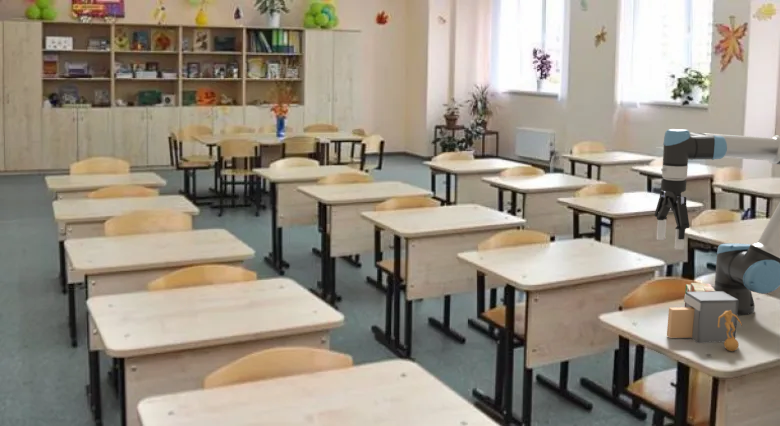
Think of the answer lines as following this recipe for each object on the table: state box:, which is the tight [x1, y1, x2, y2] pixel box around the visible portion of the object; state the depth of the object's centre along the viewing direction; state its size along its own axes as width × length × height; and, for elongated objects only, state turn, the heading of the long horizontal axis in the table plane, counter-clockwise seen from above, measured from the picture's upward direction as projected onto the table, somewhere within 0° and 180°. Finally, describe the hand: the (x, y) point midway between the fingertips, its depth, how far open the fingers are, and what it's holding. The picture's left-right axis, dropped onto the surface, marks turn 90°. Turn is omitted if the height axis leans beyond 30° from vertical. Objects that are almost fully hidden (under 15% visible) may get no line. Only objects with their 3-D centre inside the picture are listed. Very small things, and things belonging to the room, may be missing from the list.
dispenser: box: [683, 291, 739, 344], centre depth 262 cm, size 12×10×13 cm
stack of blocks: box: [684, 282, 715, 294], centre depth 279 cm, size 21×6×12 cm, turn 169°
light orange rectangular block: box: [666, 306, 695, 339], centre depth 261 cm, size 14×2×9 cm, turn 96°
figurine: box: [718, 310, 743, 352], centre depth 250 cm, size 8×6×12 cm
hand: (669, 244), depth 271 cm, fingers open, 13 cm apart
